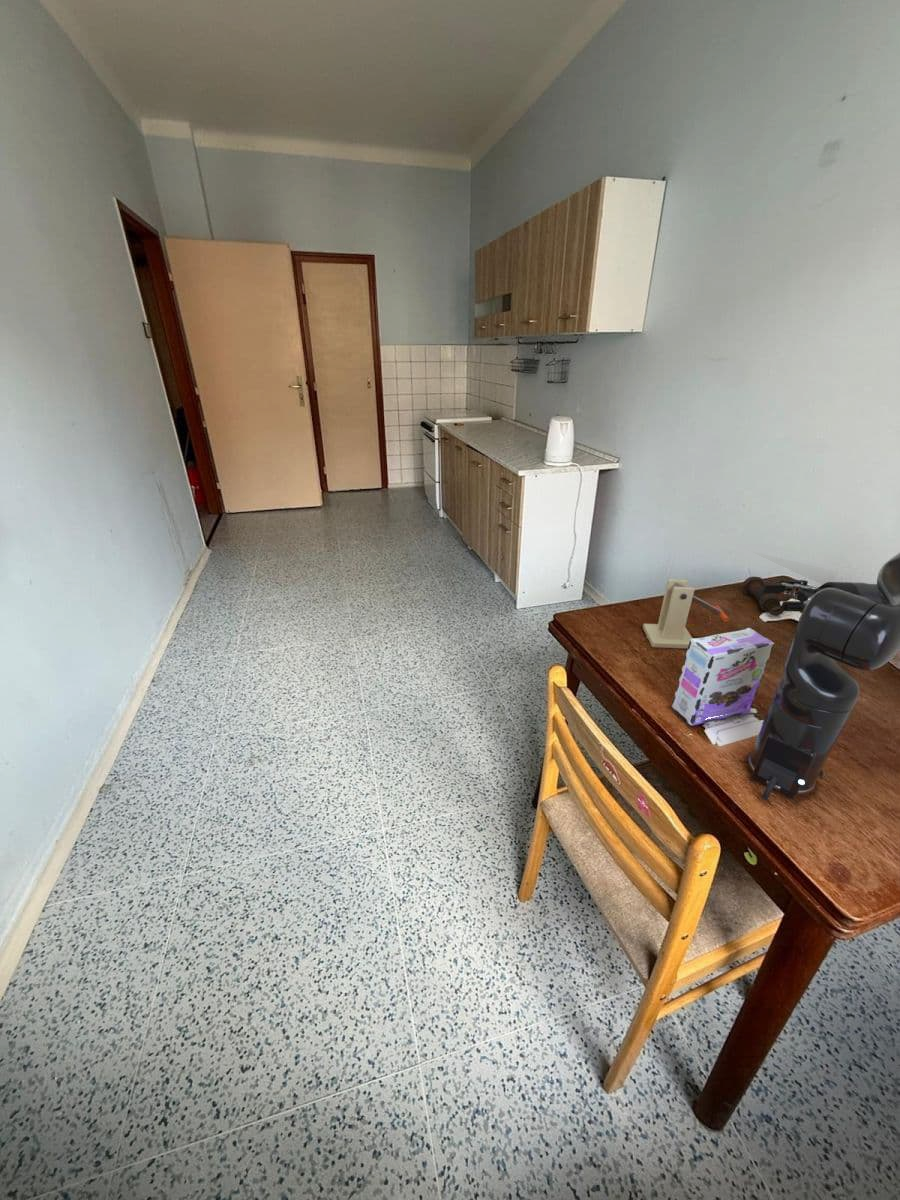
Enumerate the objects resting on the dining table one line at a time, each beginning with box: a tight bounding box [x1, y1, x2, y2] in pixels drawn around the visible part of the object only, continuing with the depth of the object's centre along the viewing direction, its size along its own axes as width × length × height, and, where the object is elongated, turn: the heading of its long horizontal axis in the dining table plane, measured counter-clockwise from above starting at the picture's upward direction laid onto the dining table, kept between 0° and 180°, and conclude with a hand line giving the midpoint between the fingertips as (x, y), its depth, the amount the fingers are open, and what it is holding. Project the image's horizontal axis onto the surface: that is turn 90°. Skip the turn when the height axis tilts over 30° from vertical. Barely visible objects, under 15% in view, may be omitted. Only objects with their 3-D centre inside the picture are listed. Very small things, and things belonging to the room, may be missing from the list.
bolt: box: [741, 576, 785, 617], centre depth 128 cm, size 6×5×15 cm
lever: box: [670, 582, 730, 623], centre depth 110 cm, size 14×6×2 cm, turn 85°
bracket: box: [642, 578, 696, 649], centre depth 112 cm, size 10×9×15 cm
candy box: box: [671, 627, 775, 727], centre depth 89 cm, size 14×6×16 cm, turn 105°
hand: (772, 597), depth 108 cm, fingers open, 8 cm apart
